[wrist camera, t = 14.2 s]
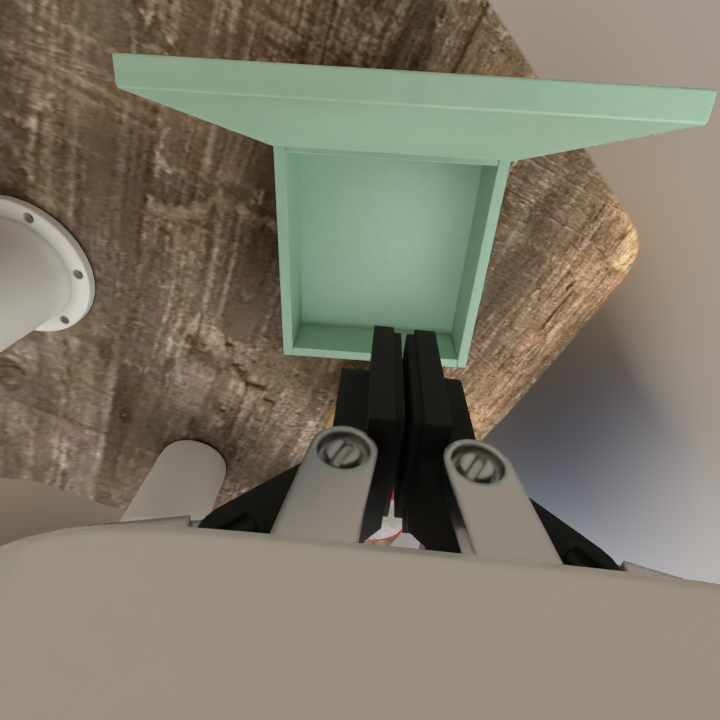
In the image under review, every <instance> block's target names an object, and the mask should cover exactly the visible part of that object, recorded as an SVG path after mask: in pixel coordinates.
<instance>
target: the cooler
mask: <svg viewBox="0 0 720 720" xmlns="http://www.w3.org/2000/svg"><path fill="white" fill-rule="evenodd" d="M273 151H274V171H275V191H276V210H277V230H278V250H279V270H280V289H281V309H282V329H283V349H284V355H298V356H312V357H325V358H339V359H352V360H366V361H370V358H371V350H372V341H373V333H374V326H375V325H377V326H387V327H394V332H395V333H401V340H402V358H403V352H404V346H405V340H406V335H407V334H414V331H415V329H416V330H425V331H435V333H436V338H437V343H438V348H439V354H440V359H441V364H442V366H448V367H462V368H465V367H466V362H467V358H468V353H469V348H470V344H471V339H472V335H473V330H474V326H475V321H476V317H477V312H478V308H479V303H480V299H481V294H482V290H483V285H484V281H485V276H486V272H487V267H488V262H489V258H490V253H491V249H492V244H493V240H494V235H495V231H496V226H497V222H498V217H499V213H500V208H501V204H502V199H503V195H504V190H505V186H506V181H507V176H508V172H509V167H510V163H511V161H501V160H485V159H470V158H454V157H439V156H423V155H408V154H393V153H377V152H362V151H346V150H331V149H315V148H300V147H284V146H273Z"/></svg>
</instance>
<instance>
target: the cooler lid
mask: <svg viewBox="0 0 720 720" xmlns="http://www.w3.org/2000/svg"><path fill="white" fill-rule="evenodd" d="M112 58H113V66H114V73H115V81H116V86H117V87H118V88H120V89H122V90H125V91H128V92H130V93H133V94H136V95H138V96H141V97H144V98H146V99H149V100H152V101H154V102H157V103H160V104H162V105H165V106H168V107H170V108H173V109H176V110H178V111H181V112H184V113H186V114H189V115H192V116H194V117H197V118H200V119H202V120H205V121H208V122H210V123H213V124H216V125H218V126H221V127H224V128H226V129H229V130H232V131H234V132H237V133H240V134H242V135H245V136H248V137H250V138H253V139H256V140H258V141H261V142H264V143H266V144H269V145H272V146H284V147H300V148H315V149H331V150H346V151H362V152H377V153H393V154H408V155H423V156H439V157H454V158H470V159H485V160H501V161H517V160H522V159H527V158H532V157H538V156H543V155H548V154H553V153H559V152H564V151H569V150H574V149H580V148H585V147H590V146H595V145H601V144H606V143H611V142H616V141H622V140H627V139H632V138H637V137H643V136H648V135H653V134H659V133H663V132H668V131H674V130H679V129H685V128H689V127H695V126H701V125H704V124H706V123H707V122H708V119H709V116H710V113H711V110H712V107H713V104H714V101H715V98H716V95H717V90H714V89H700V88H684V87H667V86H651V85H650V86H649V85H635V84H618V83H601V82H585V81H569V80H551V79H536V78H520V77H504V76H487V75H471V74H455V73H438V72H422V71H406V70H389V69H373V68H357V67H340V66H324V65H308V64H291V63H275V62H258V61H242V60H226V59H209V58H193V57H177V56H160V55H144V54H128V53H113V54H112Z"/></svg>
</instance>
